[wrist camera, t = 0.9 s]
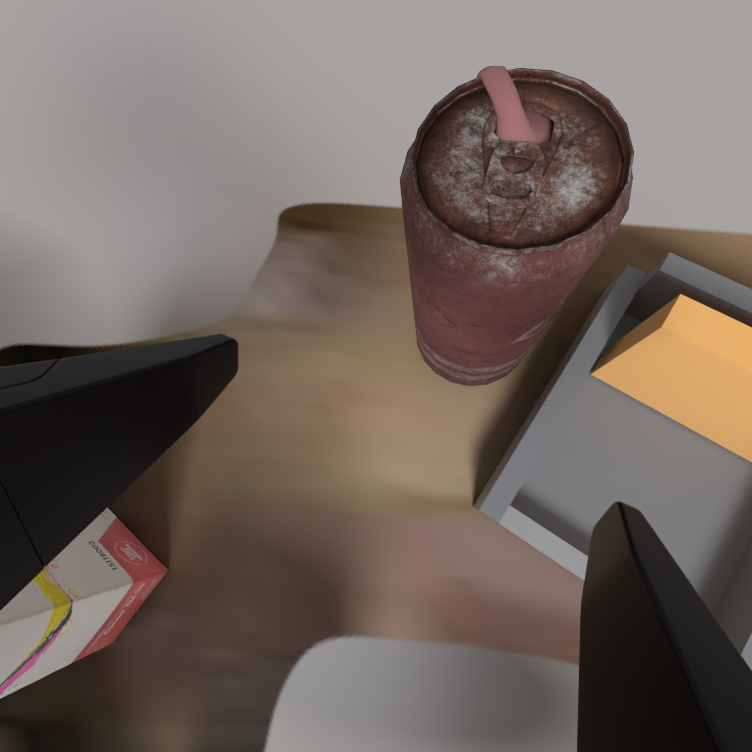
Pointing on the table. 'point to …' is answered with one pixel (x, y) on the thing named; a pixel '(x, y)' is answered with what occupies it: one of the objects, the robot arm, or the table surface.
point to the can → (507, 213)
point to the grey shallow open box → (633, 456)
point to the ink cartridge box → (76, 602)
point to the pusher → (689, 370)
